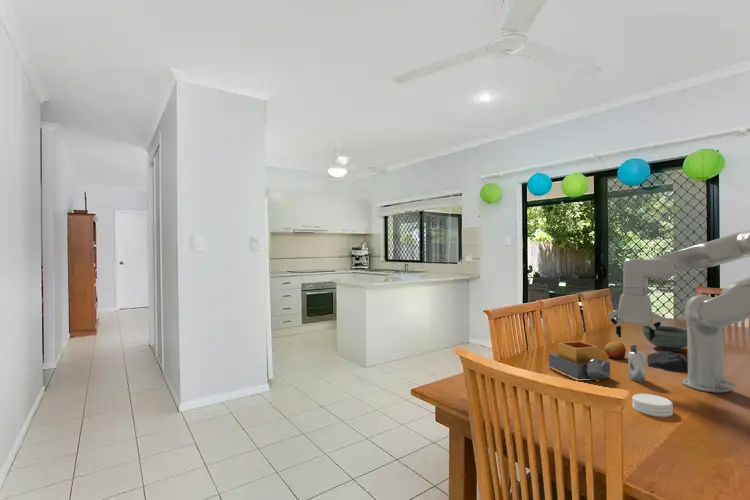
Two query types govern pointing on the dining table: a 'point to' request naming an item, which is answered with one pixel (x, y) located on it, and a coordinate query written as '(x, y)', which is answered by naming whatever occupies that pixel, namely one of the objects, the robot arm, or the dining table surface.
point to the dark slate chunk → (668, 361)
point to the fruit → (615, 350)
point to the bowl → (668, 337)
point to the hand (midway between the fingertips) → (634, 338)
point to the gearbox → (580, 361)
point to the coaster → (652, 405)
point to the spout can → (636, 365)
